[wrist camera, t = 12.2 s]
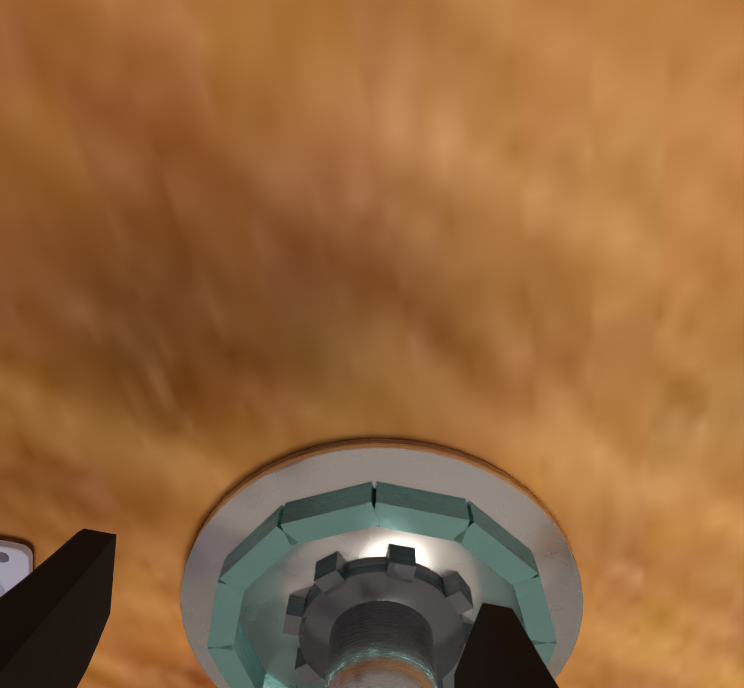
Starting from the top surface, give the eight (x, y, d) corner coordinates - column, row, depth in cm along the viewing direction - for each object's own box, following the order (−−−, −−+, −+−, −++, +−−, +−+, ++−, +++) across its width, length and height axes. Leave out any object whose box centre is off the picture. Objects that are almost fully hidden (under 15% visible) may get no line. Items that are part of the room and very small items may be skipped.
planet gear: (274, 670, 27) (248, 811, 22) (302, 528, 24) (280, 653, 19) (450, 697, 27) (465, 841, 22) (499, 562, 24) (530, 693, 19)
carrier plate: (168, 702, 29) (154, 745, 27) (211, 398, 22) (195, 428, 21) (507, 759, 30) (516, 804, 28) (639, 485, 24) (660, 520, 22)
